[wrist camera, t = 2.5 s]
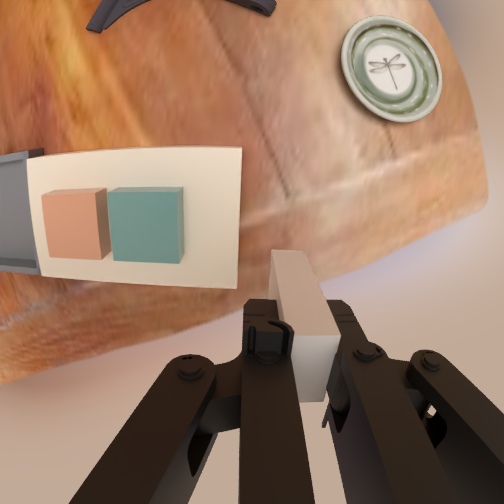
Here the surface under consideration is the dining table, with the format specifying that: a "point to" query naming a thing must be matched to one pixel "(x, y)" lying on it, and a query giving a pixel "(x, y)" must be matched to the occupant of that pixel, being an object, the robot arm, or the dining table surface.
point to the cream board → (151, 175)
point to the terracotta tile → (77, 223)
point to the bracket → (119, 3)
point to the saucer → (391, 68)
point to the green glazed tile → (147, 224)
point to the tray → (17, 215)
